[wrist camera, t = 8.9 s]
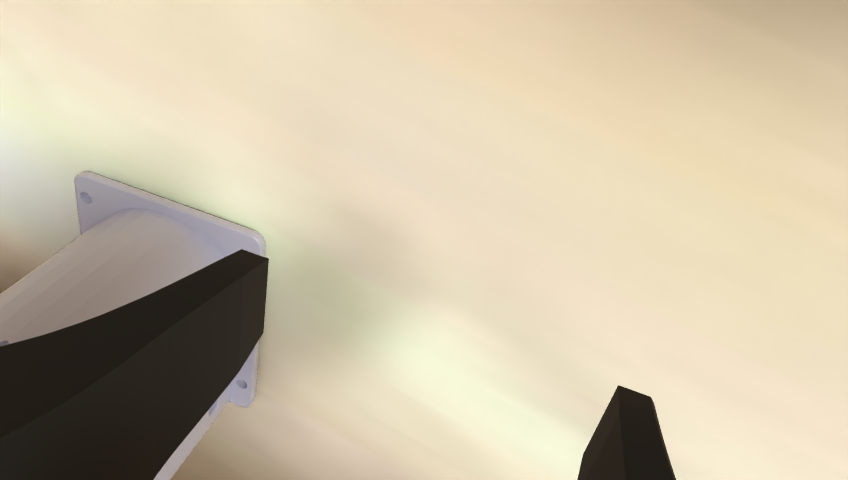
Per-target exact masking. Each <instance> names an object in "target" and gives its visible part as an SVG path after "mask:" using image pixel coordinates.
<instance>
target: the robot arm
mask: <svg viewBox="0 0 848 480" xmlns="http://www.w3.org/2000/svg"><path fill="white" fill-rule="evenodd" d="M75 190H76V198H77V207H78V215H79V223H80V232H81V236H79V237H78V238H76V239H75V240H74V241H72V242H71V243H70V244H68V245H67V246H65V247H64V248H63V249H61V250H60V251H59V252H57V253H56V254H54V255H53V256H52V257H50V258H49V259H48V260H46V261H45V262H43V263H42V264H41V265H39V266H38V267H37V268H35V269H34V270H32V271H31V272H30V273H28V274H27V275H26V276H24V277H23V278H21V279H20V280H19V281H17V282H16V283H15V284H13V285H12V286H10V287H9V288H8V289H6V290H5V291H4V292H2V293H1V294H0V480H170V479H171V478H172V476H173V475H174V474H175V472H176V471H177V470H178V468H179V467H180V466H181V465H182V463H183V462H184V461H185V459H186V458H187V457H188V455H189V454H190V453H191V451H192V450H193V449H194V447H195V446H196V445H197V443H198V442H199V441H200V439H201V438H202V437H203V435H204V434H205V433H206V431H207V430H208V429H209V427H210V426H211V425H212V423H213V422H214V421H215V419H216V418H217V417H218V415H219V414H220V413H221V411H222V410H223V409H224V407H225V406H226V405H227V403H228V402H231V403H233V404H236V405H238V406H241V407H249V406H251V405H252V403H253V402H254V400H255V394H256V380H257V366H258V352H259V339H260V337H261V335H262V334H263V329H264V315H265V302H266V288H267V275H268V262H269V259H268V258H265V253H266V242H265V240H264V238H263V236H262V235H261V234H260V233H258V232H256V231H255V230H252V229H249V228H246V227H243V226H240V225H238V224H235V223H232V222H229V221H226V220H224V219H221V218H218V217H215V216H212V215H210V214H207V213H204V212H201V211H198V210H196V209H193V208H190V207H187V206H184V205H182V204H179V203H176V202H173V201H170V200H168V199H165V198H162V197H159V196H156V195H153V194H151V193H148V192H145V191H142V190H139V189H137V188H134V187H131V186H128V185H125V184H123V183H120V182H117V181H114V180H111V179H109V178H106V177H103V176H100V175H97V174H95V173H92V172H88V171H85V172H82V173H80V174H79V175H77V176H76V178H75ZM89 195H90V196H91V197H90V196H89ZM248 251H250V252H248ZM578 480H676V478H675V475H674V472H673V469H672V466H671V463H670V460H669V456H668V453H667V450H666V447H665V443H664V440H663V436H662V433H661V429H660V425H659V422H658V418H657V414H656V410H655V406H654V403H653V401H652V399H651V397H649V396H647V395H644V394H641V393H638V392H636V391H633V390H630V389H627V388H624V387H622V386H619V385H618V387H617V389H616V391H615V393H614V395H613V397H612V399H611V401H610V403H609V405H608V407H607V409H606V411H605V413H604V414H603V416H602V418H601V420H600V422H599V424H598V426H597V428H596V430H595V432H594V434H593V436H592V438H591V440H590V442H589V444H588V446H587V448H586V450H585V452H584V454H583V458H582V462H581V467H580V471H579V475H578Z"/></svg>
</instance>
